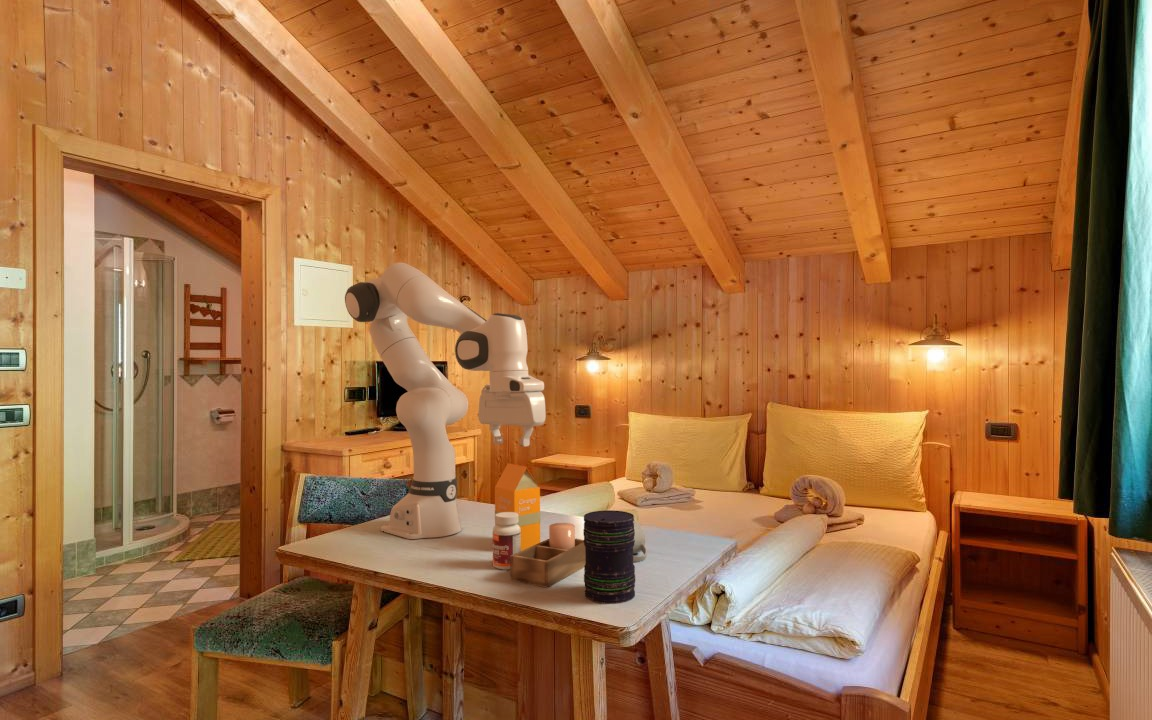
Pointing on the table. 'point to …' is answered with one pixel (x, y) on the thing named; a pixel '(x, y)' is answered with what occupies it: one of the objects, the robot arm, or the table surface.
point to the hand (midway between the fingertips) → (511, 445)
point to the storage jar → (609, 556)
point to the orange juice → (520, 501)
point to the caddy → (546, 563)
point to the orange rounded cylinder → (562, 535)
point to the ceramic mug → (639, 543)
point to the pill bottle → (505, 539)
